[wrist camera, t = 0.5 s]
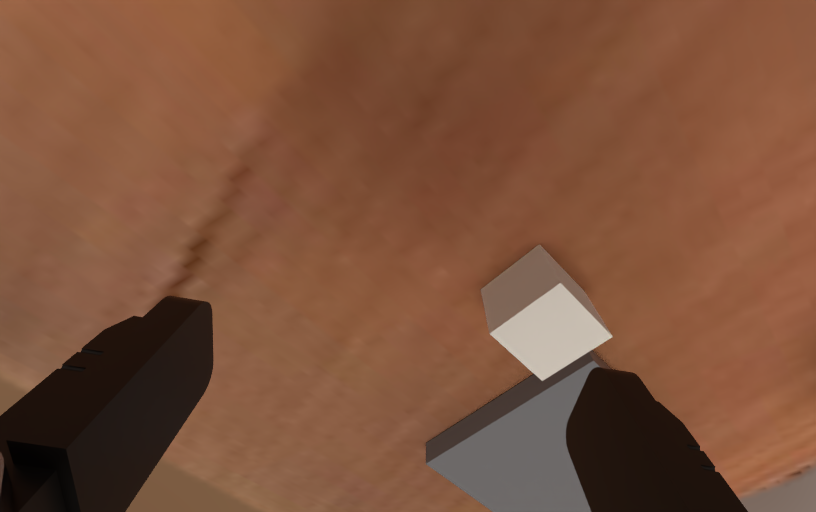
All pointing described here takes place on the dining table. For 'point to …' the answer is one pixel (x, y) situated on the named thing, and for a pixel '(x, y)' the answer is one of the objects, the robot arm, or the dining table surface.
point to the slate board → (519, 446)
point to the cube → (542, 314)
